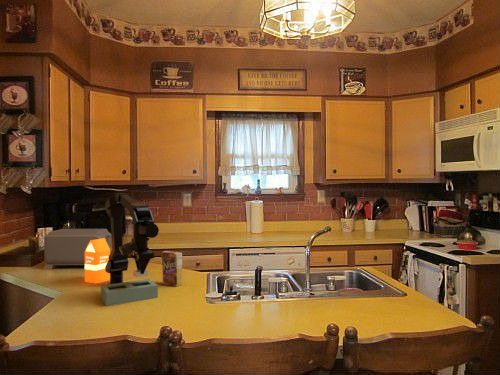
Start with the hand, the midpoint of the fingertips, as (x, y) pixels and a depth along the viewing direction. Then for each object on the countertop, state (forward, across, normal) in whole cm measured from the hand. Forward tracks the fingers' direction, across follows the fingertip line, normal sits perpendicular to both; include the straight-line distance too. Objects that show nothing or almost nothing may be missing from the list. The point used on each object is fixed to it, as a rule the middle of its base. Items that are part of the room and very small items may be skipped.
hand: (140, 272), depth 157 cm
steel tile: (+1, 0, 0) cm, 1 cm away
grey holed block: (+10, 0, -5) cm, 11 cm away
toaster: (+10, -77, -13) cm, 79 cm away
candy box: (+10, -10, +17) cm, 22 cm away
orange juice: (+10, -37, -11) cm, 40 cm away
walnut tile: (+8, 0, -10) cm, 12 cm away
